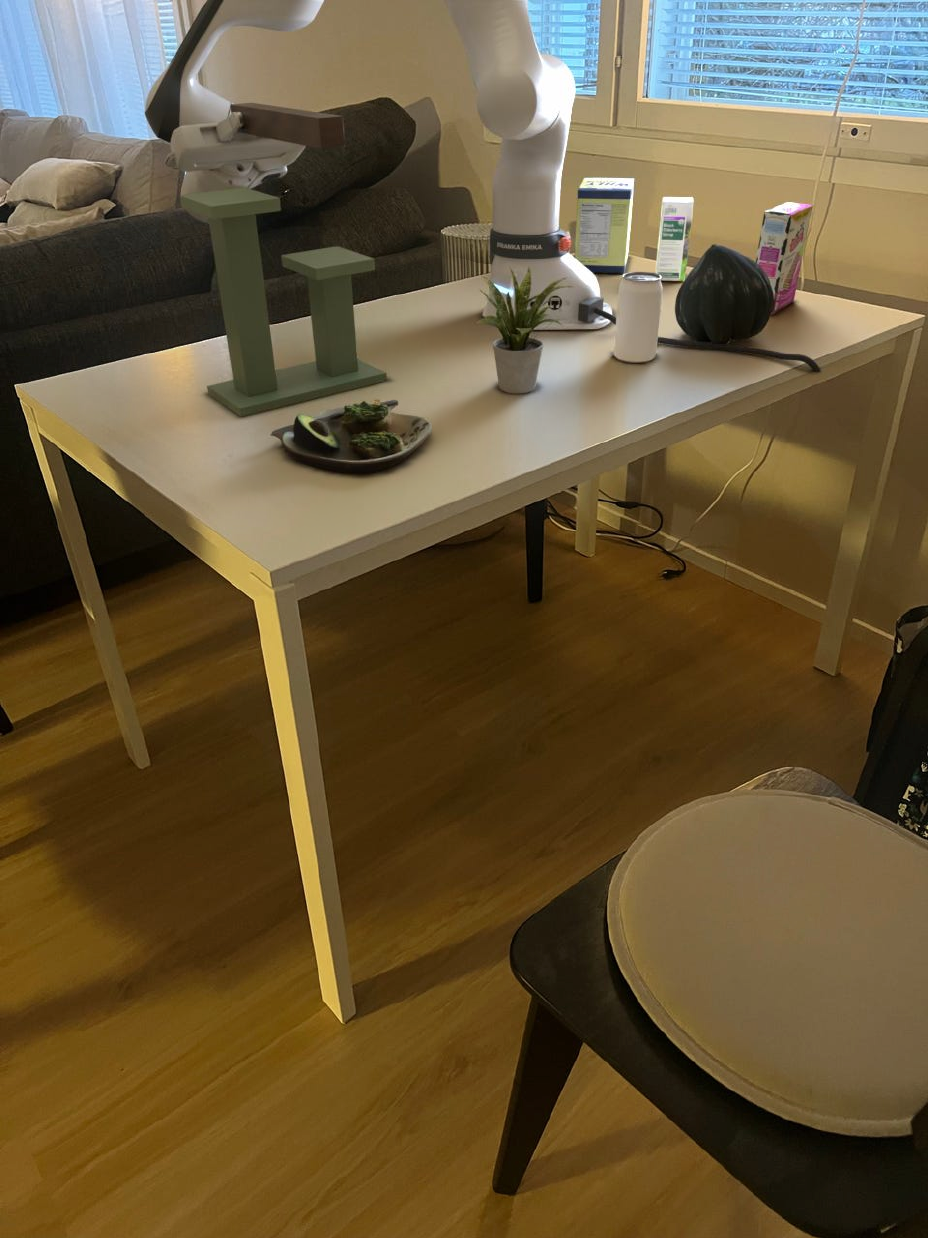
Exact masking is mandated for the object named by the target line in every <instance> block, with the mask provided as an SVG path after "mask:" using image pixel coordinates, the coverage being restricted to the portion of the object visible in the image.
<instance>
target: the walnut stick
mask: <svg viewBox="0 0 928 1238" xmlns="http://www.w3.org/2000/svg"><path fill="white" fill-rule="evenodd" d="M230 106H231V113H232V112H243V114H244V118H245V120H246V125H245V126H244V128H243V129H241V130H237V131H236V132H240V133H245V134H250V135H255V136H260V137H265V138H270V139H274V140H279V141H284V142H289V143H294V144H299V145H304V146H306V147H309V148H315V149H319V150H326V149H328V150H329V149H336V148H337V149H338V148H345V147H346V138H345V125H344V116H343V115H339V114H338V115H337V114H331V113H326V112H325V113H324V112H318V111H312V110H305V109H304V110H303V109H298V108H290V107H283V106H276V105H271V104H265V103H264V104H263V103H257V102H245V103H243V102H242V103H234V104H230Z"/></svg>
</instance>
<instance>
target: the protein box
mask: <svg viewBox="0 0 928 1238" xmlns="http://www.w3.org/2000/svg"><path fill="white" fill-rule="evenodd" d="M634 188H635V178H634V177H598V176H597V177H596V176H595V177H594V176H584V177H583V180H582V181H581V184H580V185H579V186H578V188H577V198H576V200H577V202H576V221H575V222H576V224H575V240H574V241H575V243H574V258H576V259H577V260H578V261H579V262H580V263H581V264H582V265H584V266H585V267H586V268H587V269H588V270H589V271H591V272H592V273H594V274H595V273H597V274H598V273H599V274H607V273H608V274H626V273H625V272H626V268H627V264H628V259H629V250H630V249H629V248H630V236H631V226H632V215H633V214H632V213H633V201H634V199H633V198H634Z"/></svg>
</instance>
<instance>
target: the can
mask: <svg viewBox="0 0 928 1238" xmlns="http://www.w3.org/2000/svg"><path fill="white" fill-rule="evenodd" d="M660 279H661V276H660V275H658V274H656V273H655V272H652V271H630V272H626V273H623V274H622V280H621V281H620V283H619V285H618V292H617V293H618V294H617V304H616V316H615V317H616V325H615V328H614V329H615V330H614V340H613V342H614V343H613V356H614V357H615V359H617V360H618V361H621V362H623V363H631V364H644V363H648V362H651V361H653V360H654V358H656V356H657V348H658V343H657V341H658V337H659V332H660V320H661V312H662V301H663V292H664V291H663V290H664V289H663V284H662V281H661V280H660Z"/></svg>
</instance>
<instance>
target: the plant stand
mask: <svg viewBox="0 0 928 1238" xmlns="http://www.w3.org/2000/svg"><path fill="white" fill-rule="evenodd" d="M178 197H179V202H180V208H181V209H184V210H185V211H186V210H188V211H191V212H194V213H197V214H199V215H202V216H205V217H207V218H208V220H209V223H208V225H209V226H208V227H209V231H210V238H211V239H210V240H211V245H212V251H213V258H214V263H215V270H216V271H215V272H216V276H217V283H218V290H219V296H220V297H219V298H220V302H221V309H222V315H223V321H224V328H225V335H226V341H227V347H228V354H229V355H228V356H229V361H230V367H231V374H232V379H231V380H227V381H222V382H217V383H214V384H209V385H207V386H206V389H207V390H206V391H207V395H209V396H210V397H212V398H213V399H215V400H216V401H217V402H219V403H221V404H222V405H223V406H225V407H226V408H227V409H229V410H230V411H232V412H234V413H235V415H238V416H239V417H240V418H242V417H246V416H247V417H248V416H250V415H254V414H259V413H263V412H267V411H270V410H274V409H278V408H283V407H286V406H290V405H295V404H298V403H304V402H306V401H310V400H315V399H318V398H322V397H326V396H331V395H334V394H335V395H336V394H339V393H342V392H347V391H350V390H355V389H359V388H363V387H366V386H371V385H375V384H379V383H384V382H387V380H388V379H387V372H385V371H383V370H381V369H380V368H377V367H375V366H373V365H371V364H369V363H367V362H365V361H364V360H361V359H359V358H358V349H357V337H356V327H355V326H356V324H355V323H356V322H355V312H354V311H355V309H354V298H353V285H352V275H355V274H360V273H366V272H371V271H375V270H376V268H375V267H376V266H375V258H373V257H371V256H367V255H365V254H361V253H359V252H355V251H353V250H351V249H347V248H345V247H342V246H339V245H337V246H331V247H324V248H317V249H311V250H305V251H300V252H293V253H286V254H281V255H280V258H281V266H282V267H283V268H286V269H288V270H290V271H293V272H295V273H298V274H300V275H303V276H305V277H306V279H307V289H308V298H309V308H310V309H309V310H310V317H311V319H310V320H311V325H312V326H311V327H312V336H313V337H312V339H313V346H314V356H315V361H310V362H307V363H302V364H297V365H293V366H288V367H285V368H280V369H276V365H275V357H274V349H273V341H272V335H271V333H272V332H271V326H270V325H271V324H270V319H269V318H270V317H269V310H268V303H267V296H266V287H265V280H264V272H263V265H262V257H261V256H262V255H261V248H260V241H259V233H258V224H257V216H256V215H261V214H267V213H275V212H281V211H282V208H281V199H280V197H279V196H278V197H277V196H274V195H271V194H267V193H265V192H261V191H258V190H255V189H252V188H251V189H248V188H236V189H228V190H220V191H211V192H203V193H194V194H186V195H181V194H180V195H179V196H178Z"/></svg>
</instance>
